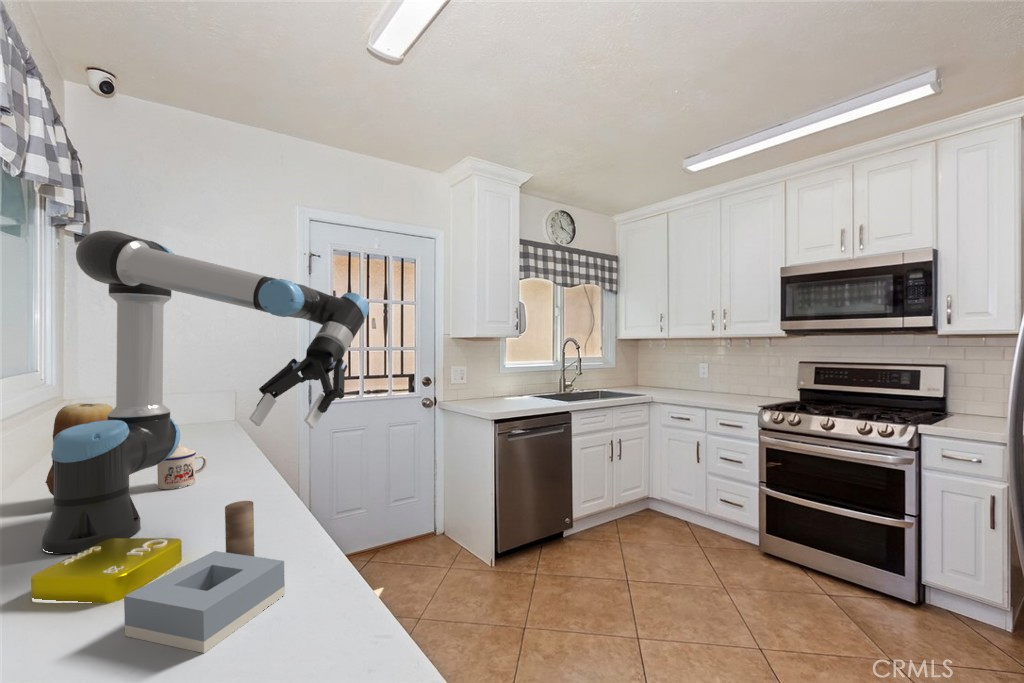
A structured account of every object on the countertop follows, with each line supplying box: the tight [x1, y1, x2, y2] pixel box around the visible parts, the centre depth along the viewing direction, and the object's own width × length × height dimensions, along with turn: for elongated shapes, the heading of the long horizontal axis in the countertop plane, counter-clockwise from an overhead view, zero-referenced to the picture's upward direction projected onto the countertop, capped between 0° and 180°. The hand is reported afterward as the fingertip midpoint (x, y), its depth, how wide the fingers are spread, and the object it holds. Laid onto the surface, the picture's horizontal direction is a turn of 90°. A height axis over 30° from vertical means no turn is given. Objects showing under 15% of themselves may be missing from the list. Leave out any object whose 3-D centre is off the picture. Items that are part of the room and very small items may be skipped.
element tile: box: [30, 537, 183, 604], centre depth 80 cm, size 15×15×5 cm
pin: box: [224, 500, 255, 557], centre depth 84 cm, size 4×4×11 cm
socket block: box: [123, 550, 286, 654], centre depth 69 cm, size 14×14×6 cm
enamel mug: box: [156, 443, 208, 490], centre depth 133 cm, size 12×9×12 cm
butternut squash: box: [45, 402, 114, 497], centre depth 120 cm, size 14×13×25 cm
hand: (281, 423), depth 93 cm, fingers open, 13 cm apart
